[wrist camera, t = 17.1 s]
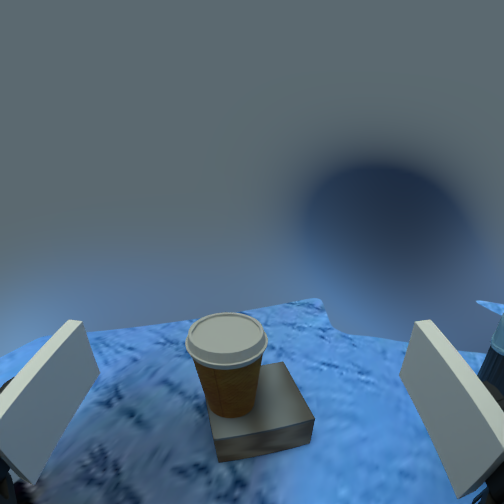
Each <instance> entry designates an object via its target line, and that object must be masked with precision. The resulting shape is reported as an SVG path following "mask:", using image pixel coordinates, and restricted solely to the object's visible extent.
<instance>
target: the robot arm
mask: <svg viewBox="0 0 504 504" xmlns="http://www.w3.org/2000/svg"><path fill="white" fill-rule="evenodd" d="M99 374H100V371H99V369H98V366H97V363H96V361H95V358H94V355H93V352H92V349H91V346H90V343H89V340H88V337H87V334H86V331H85V328H84V325H83V322H82V321H74V320H68V321H67V322H66V323H65V324H64V325H63V326H62V327H61V328H60V329H59V330H58V331H57V332H56V333H55V334H54V335H53V336H52V337H51V338H50V339H49V340H48V341H47V342H46V343H45V345H44V346H43V347H42V348H41V349H40V350H39V351H38V352H37V353H36V354H35V355H34V356H33V357H32V359H31V360H30V361H29V362H28V363H27V364H26V365H25V366H24V367H23V368H22V370H21V371H20V372H19V373H18V374H17V375H16V376H15V377H13V378H12V379H10V380H9V381H7V382H6V383H4V384H3V386H2V387H1V388H0V504H17V501H16V496H15V492H14V487H13V481H12V478H11V475H10V474H9V473H8V471H9V469H10V468H11V469H12V470H13V471H14V472H15V473H16V474H17V475H18V476H19V477H20V478H21V479H23V480H25V481H27V482H29V483H30V484H32V485H35V483H36V482H37V480H38V478H39V476H40V474H41V472H42V470H43V468H44V467H45V465H46V463H47V461H48V459H49V457H50V456H51V454H52V452H53V450H54V448H55V447H56V445H57V443H58V441H59V440H60V438H61V436H62V434H63V433H64V431H65V429H66V428H67V426H68V424H69V423H70V421H71V419H72V418H73V416H74V414H75V413H76V411H77V409H78V408H79V406H80V404H81V403H82V401H83V399H84V398H85V396H86V395H87V393H88V391H89V390H90V388H91V387H92V385H93V383H94V382H95V380H96V379H97V377H98V376H99ZM399 376H400V378H401V380H402V382H403V384H404V386H405V387H406V389H407V391H408V393H409V395H410V397H411V399H412V401H413V403H414V405H415V407H416V409H417V411H418V413H419V415H420V417H421V419H422V421H423V423H424V425H425V427H426V429H427V431H428V433H429V435H430V438H431V440H432V442H433V444H434V446H435V448H436V450H437V453H438V455H439V457H440V459H441V461H442V464H443V466H444V468H445V471H446V473H447V475H448V478H449V480H450V482H451V485H452V487H453V489H454V492H455V494H456V497H457V499H459V498H461V497H463V496H466V495H468V494H470V493H472V492H474V491H476V490H477V489H478V488H479V487H480V486H481V485H482V484H483V483H484V482H486V484H487V487H486V488H485V489H484V490H483V491H482V492H481V493H480V494H479V495H478V496H476V497H475V498H474V500H473V502H472V503H471V504H475V503H476V502H477V501H478V500H479V499H480V498H481V497H482V498H481V501H480V502H479V503H478V504H504V313H503V315H502V317H501V319H500V322H499V324H498V327H497V329H496V331H495V333H494V334H493V336H492V338H491V346H490V348H489V350H488V353H487V355H486V357H485V360H484V362H483V364H482V366H481V368H480V370H479V373H478V375H476V374H475V373H474V371H473V370H472V369H471V368H470V366H469V365H468V364H467V363H466V361H465V360H464V359H463V358H462V356H461V355H460V354H459V353H458V351H457V350H456V349H455V348H454V347H453V345H452V344H451V343H450V342H449V341H448V339H447V338H446V337H445V336H444V335H443V334H442V332H441V331H440V330H439V329H438V328H437V327H436V326H435V324H434V323H433V322H432V321H431V320H423V321H415V323H414V327H413V331H412V334H411V338H410V341H409V345H408V348H407V352H406V355H405V358H404V361H403V365H402V368H401V371H400V374H399Z"/></svg>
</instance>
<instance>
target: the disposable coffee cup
mask: <svg viewBox="0 0 504 504" xmlns="http://www.w3.org/2000/svg"><path fill="white" fill-rule="evenodd" d="M267 343H268V338H267V335H266V333H265V332H264V330H263V327H262V325H261V324H260V322H259V321H257V320H256V319H254V318H252V317H250V316H247V315H245V314H239V313H217V314H213V315H208V316H206V317H203V318H201V319H199V320H198V321H196V322H195V323H194V324H193V325H192V326H191V327H190V329H189V332H188V336H187V338H186V342H185V344H186V348H187V351H188V353H189V354H190V355H191V357H192V358H193V361H194V363H195V367H196V370H197V373H198V376H199V379H200V382H201V385H202V388H203V391H204V394H205V396H206V399H207V402H208V405H209V408H210V409H211V411H212V412H213V413H215V414H216V415H218V416H220V417H224V418H237V417H241V416H244V415H246V414H247V413H249V412H250V411H251V410H252V408H253V406H254V402H255V396H256V391H257V385H258V379H259V373H260V367H261V361H262V355H263V353H264V351H265V349H266V347H267Z"/></svg>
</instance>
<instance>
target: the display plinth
mask: <svg viewBox="0 0 504 504" xmlns="http://www.w3.org/2000/svg"><path fill="white" fill-rule="evenodd" d="M205 398H206V396H205ZM206 404H207V409H208V414H209V419H210V425H211V429H212V434H213V439H214V444H215V449H216V453H217V458H218V462H226V461H233V460H239V459H244V458H250V457H255V456H260V455H265V454H270V453H274V452H278V451H282V450H287V449H291V448H294V447H298V446H302V445H305V444H309V443H310V440H311V435H312V431H313V426H314V421H315V418H314V416H313V414H312V412H311V411H310V409H309V407H308V405H307V403H306V402H305V400H304V398H303V396H302V395H301V393H300V391H299V389H298V387H297V386H296V384H295V382H294V380H293V378H292V377H291V375H290V373H289V371H288V369H287V368H286V366H285V364H284V362H278V363H273V364H267V365H262V366H261V367H260V373H259V379H258V385H257V391H256V396H255V402H254V406H253V408H252V410H251V411H250V412H249V413H247V414H246V415H244V416H241V417H237V418H224V417H220V416H218V415H216V414H215V413H213V412H212V411H211V409H210V408H209V405H208V402H207V399H206Z"/></svg>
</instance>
